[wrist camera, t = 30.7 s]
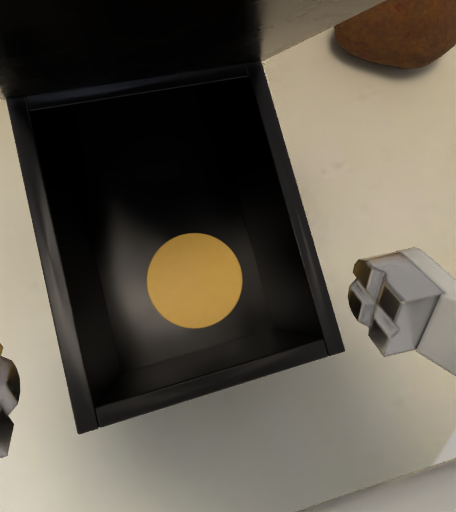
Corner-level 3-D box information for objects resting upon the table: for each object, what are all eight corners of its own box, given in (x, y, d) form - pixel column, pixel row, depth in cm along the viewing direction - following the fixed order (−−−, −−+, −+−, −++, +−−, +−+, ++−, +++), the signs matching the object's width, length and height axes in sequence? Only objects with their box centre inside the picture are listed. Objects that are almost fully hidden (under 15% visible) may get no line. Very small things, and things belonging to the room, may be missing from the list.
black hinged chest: (285, 336, 28) (345, 351, 18) (113, 387, 26) (77, 435, 16) (231, 140, 29) (260, 58, 20) (64, 172, 27) (4, 96, 17)
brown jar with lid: (228, 313, 26) (252, 315, 19) (162, 329, 26) (157, 339, 18) (213, 248, 27) (230, 224, 19) (147, 262, 26) (137, 243, 18)
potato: (321, 6, 32) (361, -75, 25) (428, 11, 34) (493, -64, 27) (331, 81, 31) (375, 17, 25) (440, 82, 33) (511, 22, 26)
